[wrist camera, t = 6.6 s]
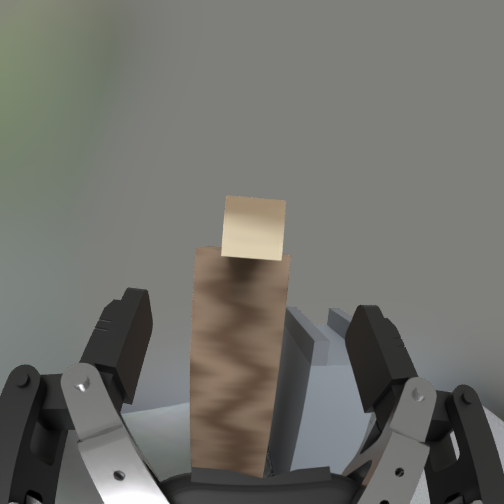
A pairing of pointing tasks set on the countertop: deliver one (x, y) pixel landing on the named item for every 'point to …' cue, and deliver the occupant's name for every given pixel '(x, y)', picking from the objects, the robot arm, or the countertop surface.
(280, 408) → the slate grooved rack
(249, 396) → the walnut pedestal
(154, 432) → the countertop surface
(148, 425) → the countertop surface
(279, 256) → the birch bar
